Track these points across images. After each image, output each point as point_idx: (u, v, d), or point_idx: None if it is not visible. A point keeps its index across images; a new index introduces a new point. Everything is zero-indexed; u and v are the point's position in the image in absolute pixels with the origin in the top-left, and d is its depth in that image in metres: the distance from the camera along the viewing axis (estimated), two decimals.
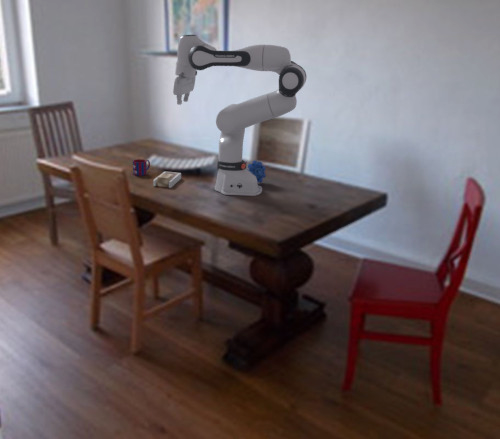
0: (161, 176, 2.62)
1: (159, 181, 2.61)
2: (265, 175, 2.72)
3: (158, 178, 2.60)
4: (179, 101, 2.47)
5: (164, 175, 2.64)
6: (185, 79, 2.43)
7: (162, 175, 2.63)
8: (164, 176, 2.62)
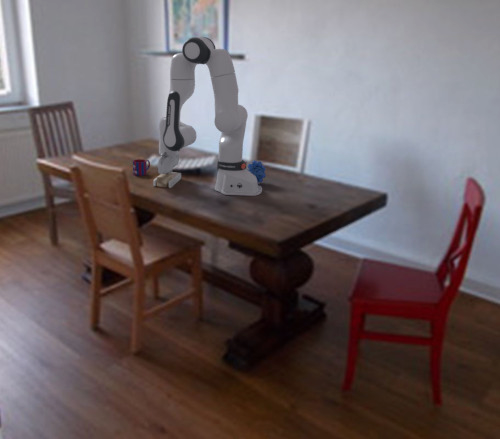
0: (160, 176, 2.62)
1: (158, 181, 2.61)
2: (265, 175, 2.72)
3: (157, 178, 2.60)
4: None
5: (164, 175, 2.63)
6: (168, 158, 2.60)
7: (162, 175, 2.63)
8: (163, 176, 2.62)
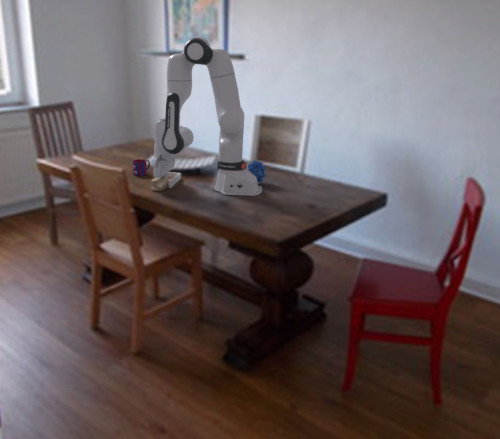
0: (155, 179, 2.56)
1: (153, 184, 2.55)
2: (265, 175, 2.72)
3: (152, 181, 2.55)
4: None
5: (159, 178, 2.58)
6: (164, 161, 2.54)
7: (157, 178, 2.57)
8: (158, 179, 2.56)
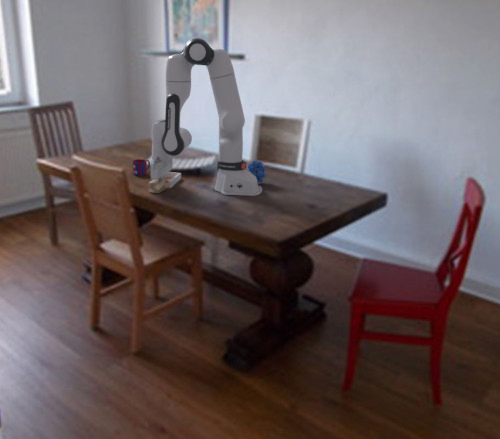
0: (153, 181, 2.53)
1: (150, 186, 2.52)
2: (265, 175, 2.72)
3: (149, 183, 2.51)
4: None
5: (156, 180, 2.54)
6: (161, 163, 2.51)
7: (154, 180, 2.54)
8: (156, 181, 2.53)
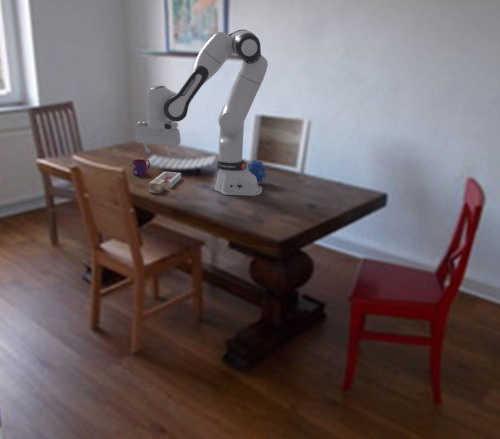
0: (153, 182, 2.52)
1: (151, 187, 2.52)
2: (265, 175, 2.72)
3: (150, 184, 2.51)
4: None
5: (156, 181, 2.54)
6: (146, 128, 2.46)
7: (154, 181, 2.54)
8: (156, 182, 2.53)
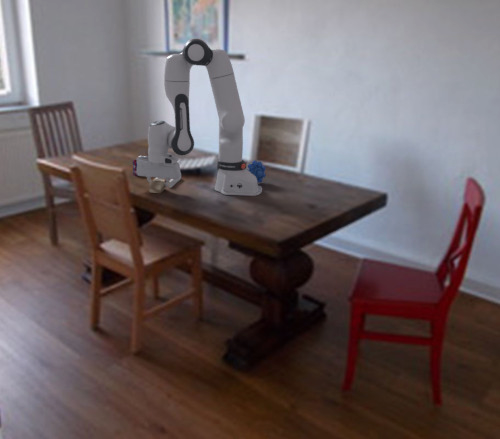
0: (153, 182, 2.52)
1: (151, 187, 2.51)
2: (265, 175, 2.72)
3: (150, 184, 2.51)
4: None
5: (156, 181, 2.54)
6: (146, 162, 2.51)
7: (154, 181, 2.54)
8: (156, 182, 2.53)
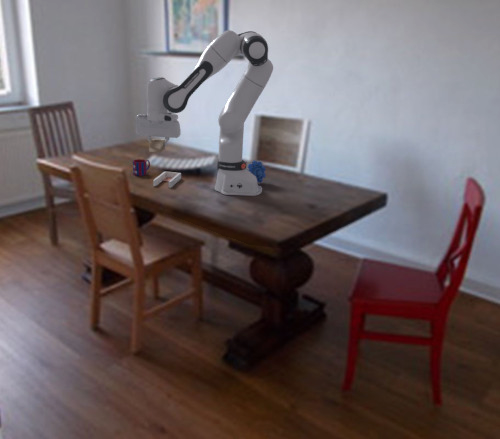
0: (153, 141, 2.46)
1: (151, 146, 2.45)
2: (265, 175, 2.72)
3: (150, 143, 2.44)
4: None
5: (156, 140, 2.48)
6: (145, 121, 2.44)
7: (154, 140, 2.47)
8: (156, 141, 2.46)
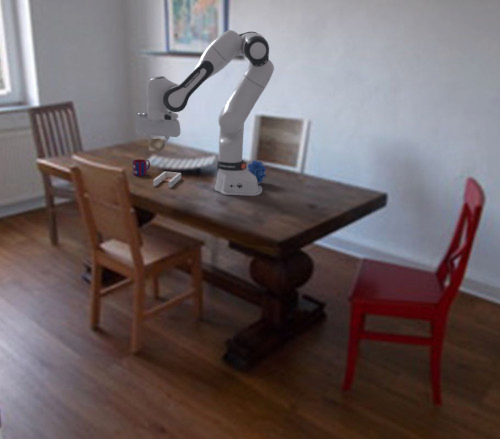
0: (153, 139, 2.46)
1: (151, 145, 2.45)
2: (265, 175, 2.72)
3: (149, 141, 2.44)
4: None
5: (156, 139, 2.47)
6: (145, 119, 2.44)
7: (154, 139, 2.47)
8: (156, 139, 2.46)
